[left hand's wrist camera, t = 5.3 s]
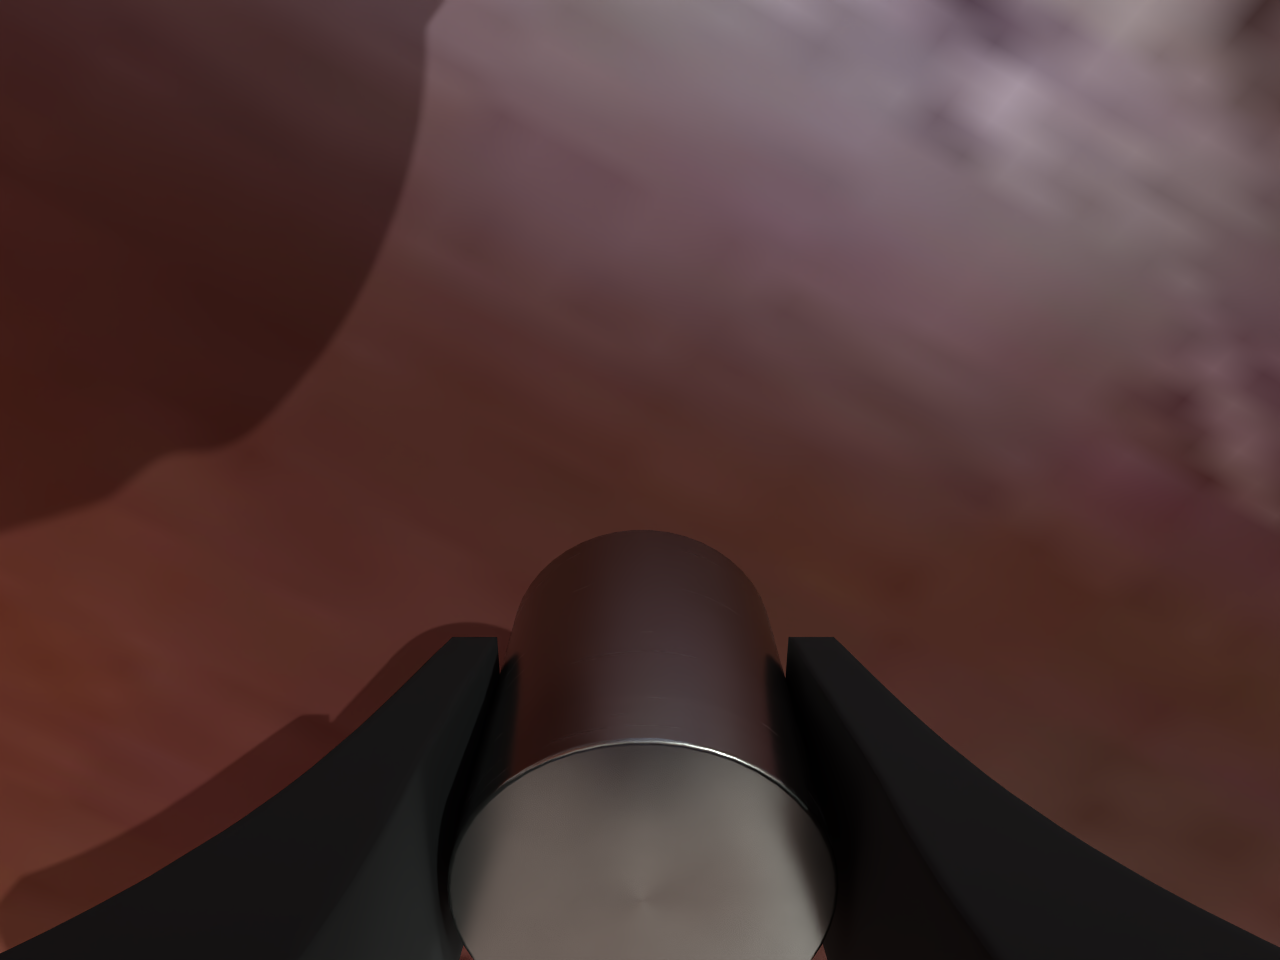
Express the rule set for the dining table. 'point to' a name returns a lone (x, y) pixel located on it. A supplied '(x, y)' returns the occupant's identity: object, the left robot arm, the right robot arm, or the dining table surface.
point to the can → (642, 772)
